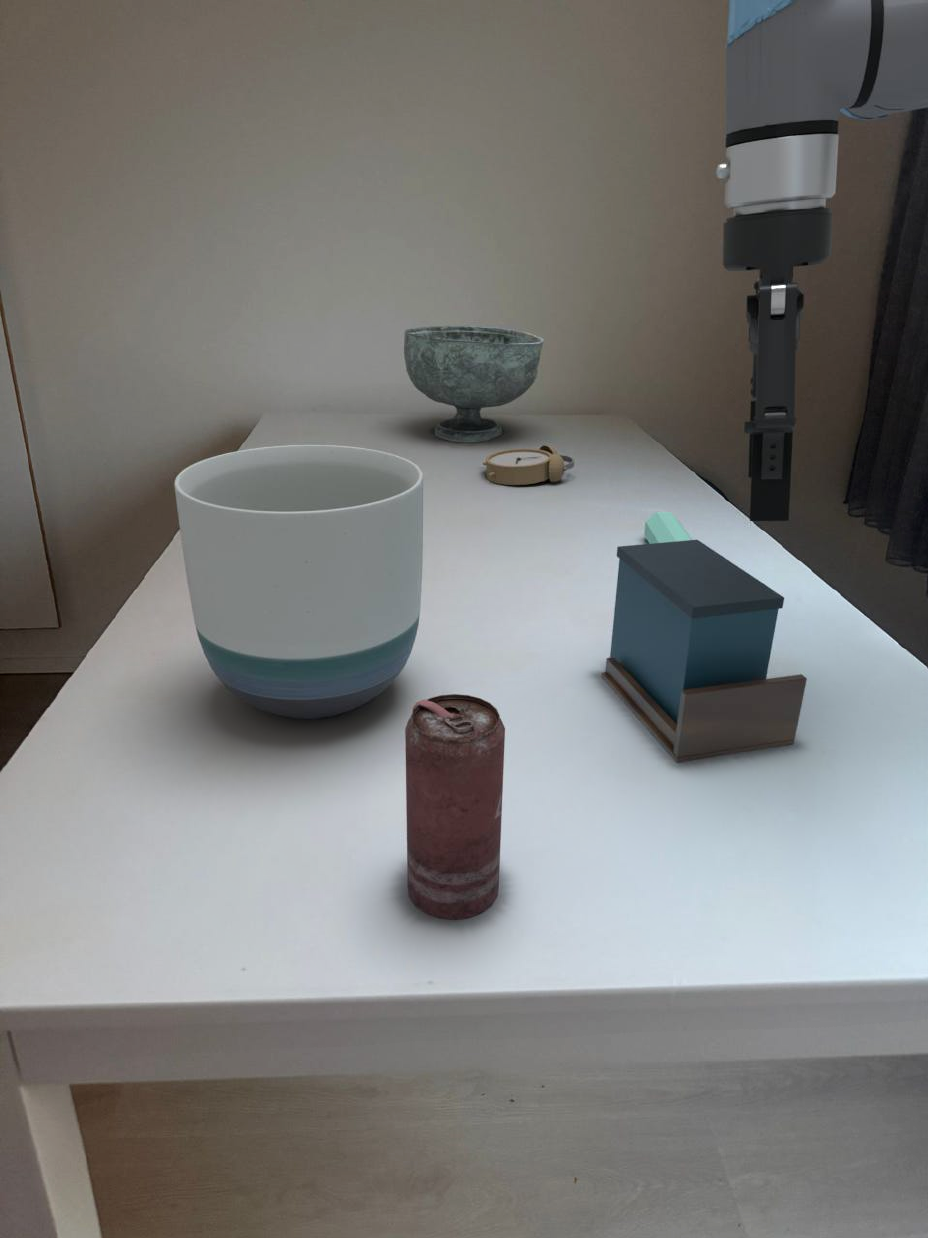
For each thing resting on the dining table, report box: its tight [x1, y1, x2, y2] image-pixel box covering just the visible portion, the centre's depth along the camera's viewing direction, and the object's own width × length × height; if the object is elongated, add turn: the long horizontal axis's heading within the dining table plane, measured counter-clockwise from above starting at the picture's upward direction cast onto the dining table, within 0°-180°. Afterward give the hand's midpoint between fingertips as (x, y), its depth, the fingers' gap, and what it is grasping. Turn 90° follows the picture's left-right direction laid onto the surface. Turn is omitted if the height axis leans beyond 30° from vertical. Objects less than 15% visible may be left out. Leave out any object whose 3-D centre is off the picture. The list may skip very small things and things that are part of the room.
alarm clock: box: [482, 444, 575, 486], centre depth 152 cm, size 11×5×15 cm
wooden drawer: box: [600, 657, 808, 764], centre depth 82 cm, size 15×11×7 cm
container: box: [643, 511, 693, 544], centre depth 113 cm, size 6×6×25 cm
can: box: [404, 693, 506, 921], centre depth 58 cm, size 6×6×14 cm
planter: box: [173, 444, 424, 720], centre depth 80 cm, size 20×20×21 cm
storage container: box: [609, 539, 785, 724], centre depth 82 cm, size 14×8×12 cm, turn 16°
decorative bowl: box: [403, 325, 544, 443], centre depth 176 cm, size 26×26×20 cm
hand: (766, 496), depth 73 cm, fingers open, 13 cm apart
